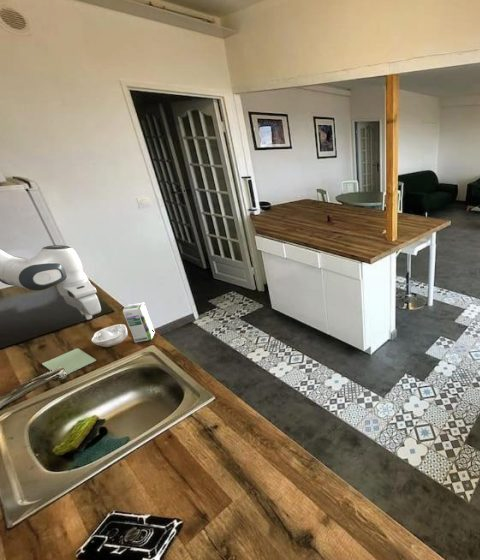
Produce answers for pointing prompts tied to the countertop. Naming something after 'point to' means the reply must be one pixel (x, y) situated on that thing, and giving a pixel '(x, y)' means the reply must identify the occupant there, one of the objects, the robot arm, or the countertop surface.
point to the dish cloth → (70, 361)
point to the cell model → (110, 335)
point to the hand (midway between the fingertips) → (88, 318)
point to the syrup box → (139, 322)
